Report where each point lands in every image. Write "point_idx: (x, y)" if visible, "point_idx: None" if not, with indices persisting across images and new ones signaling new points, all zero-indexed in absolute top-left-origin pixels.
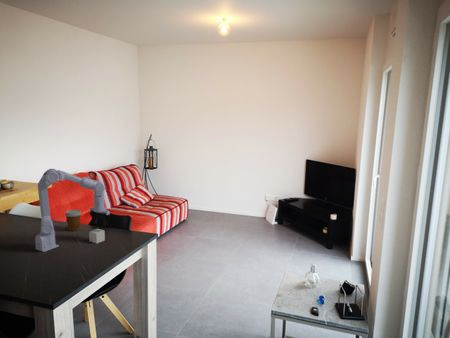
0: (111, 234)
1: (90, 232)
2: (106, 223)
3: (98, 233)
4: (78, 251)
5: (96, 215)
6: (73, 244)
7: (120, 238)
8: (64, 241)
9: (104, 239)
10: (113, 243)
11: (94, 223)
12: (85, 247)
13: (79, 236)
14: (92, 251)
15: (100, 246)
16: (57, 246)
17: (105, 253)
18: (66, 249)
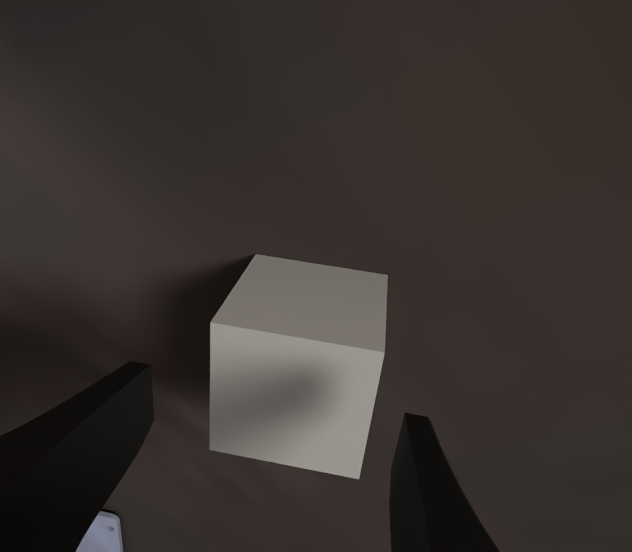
0: (327, 48)
1: (239, 451)
2: (437, 447)
3: (365, 443)
4: (341, 546)
5: (34, 515)
6: (178, 456)
7: (573, 133)
8: None
9: (386, 284)
10: (566, 320)
11: (149, 423)
12: (332, 478)
13: (36, 288)
14: None
15: (460, 427)
16: (119, 530)
17: (619, 532)
18: (220, 537)
